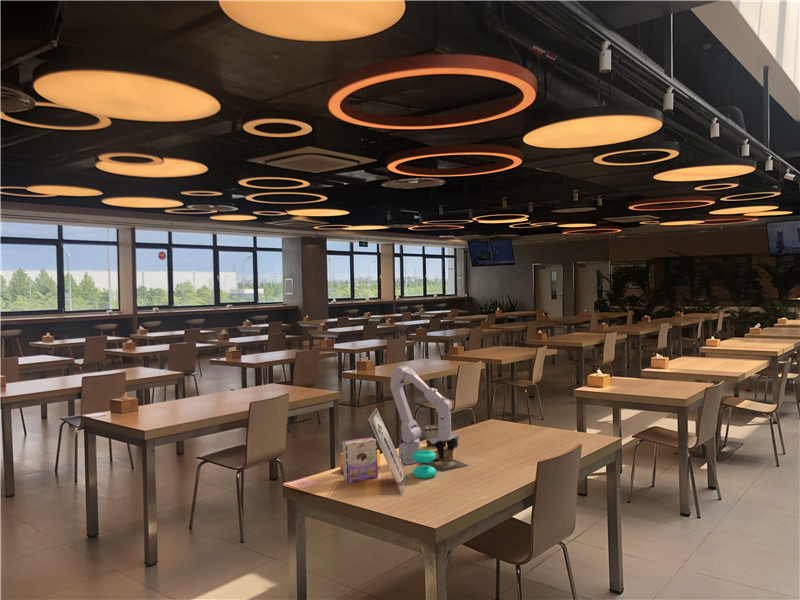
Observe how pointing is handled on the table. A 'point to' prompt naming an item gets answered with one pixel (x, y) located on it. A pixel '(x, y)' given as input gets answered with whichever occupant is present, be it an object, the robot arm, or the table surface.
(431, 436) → the food container
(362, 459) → the candy box
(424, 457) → the donuts
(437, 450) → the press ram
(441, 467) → the frame
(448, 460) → the block
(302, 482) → the table surface
